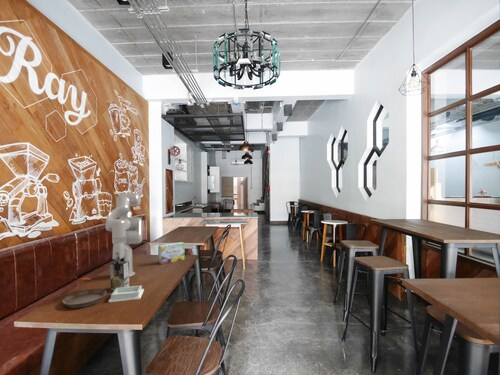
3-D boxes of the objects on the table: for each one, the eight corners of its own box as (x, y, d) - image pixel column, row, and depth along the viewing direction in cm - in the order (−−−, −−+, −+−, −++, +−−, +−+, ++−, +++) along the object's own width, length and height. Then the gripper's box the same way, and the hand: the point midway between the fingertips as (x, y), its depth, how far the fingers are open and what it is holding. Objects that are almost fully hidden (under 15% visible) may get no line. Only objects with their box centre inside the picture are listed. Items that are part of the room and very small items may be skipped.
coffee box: (130, 286, 169) (129, 261, 169) (124, 290, 163) (123, 264, 163) (116, 286, 170) (115, 261, 170) (110, 290, 164) (109, 264, 164)
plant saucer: (52, 309, 140) (52, 303, 140) (82, 293, 160) (82, 288, 160) (88, 311, 137) (88, 304, 137) (114, 294, 157) (114, 289, 157)
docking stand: (115, 293, 159) (115, 287, 159) (143, 290, 162) (143, 284, 162) (108, 302, 146) (108, 296, 146) (139, 299, 150) (139, 292, 150)
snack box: (160, 265, 217) (160, 246, 217) (158, 263, 221) (157, 245, 221) (184, 260, 231) (184, 242, 231) (181, 258, 235) (181, 241, 235)
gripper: (116, 238, 174) (116, 265, 173) (108, 242, 157) (108, 272, 157) (128, 237, 176) (129, 264, 175) (122, 241, 159) (122, 271, 158)
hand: (119, 268), depth 166 cm, fingers open, 9 cm apart
